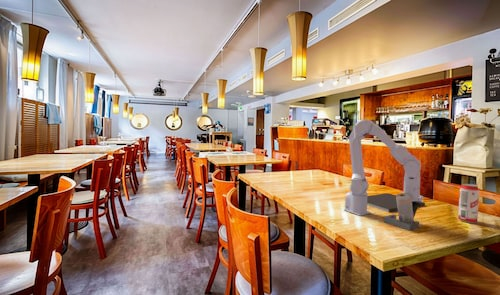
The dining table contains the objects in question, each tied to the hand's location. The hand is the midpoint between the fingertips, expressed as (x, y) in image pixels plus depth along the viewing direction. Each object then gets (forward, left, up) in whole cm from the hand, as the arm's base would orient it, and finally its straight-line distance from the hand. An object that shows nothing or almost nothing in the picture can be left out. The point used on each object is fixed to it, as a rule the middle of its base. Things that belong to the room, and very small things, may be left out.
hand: (410, 218), depth 104 cm
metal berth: (0, -7, -2) cm, 7 cm away
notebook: (-22, +20, -2) cm, 30 cm away
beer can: (+11, +24, -2) cm, 26 cm away
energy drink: (0, -3, -1) cm, 3 cm away
